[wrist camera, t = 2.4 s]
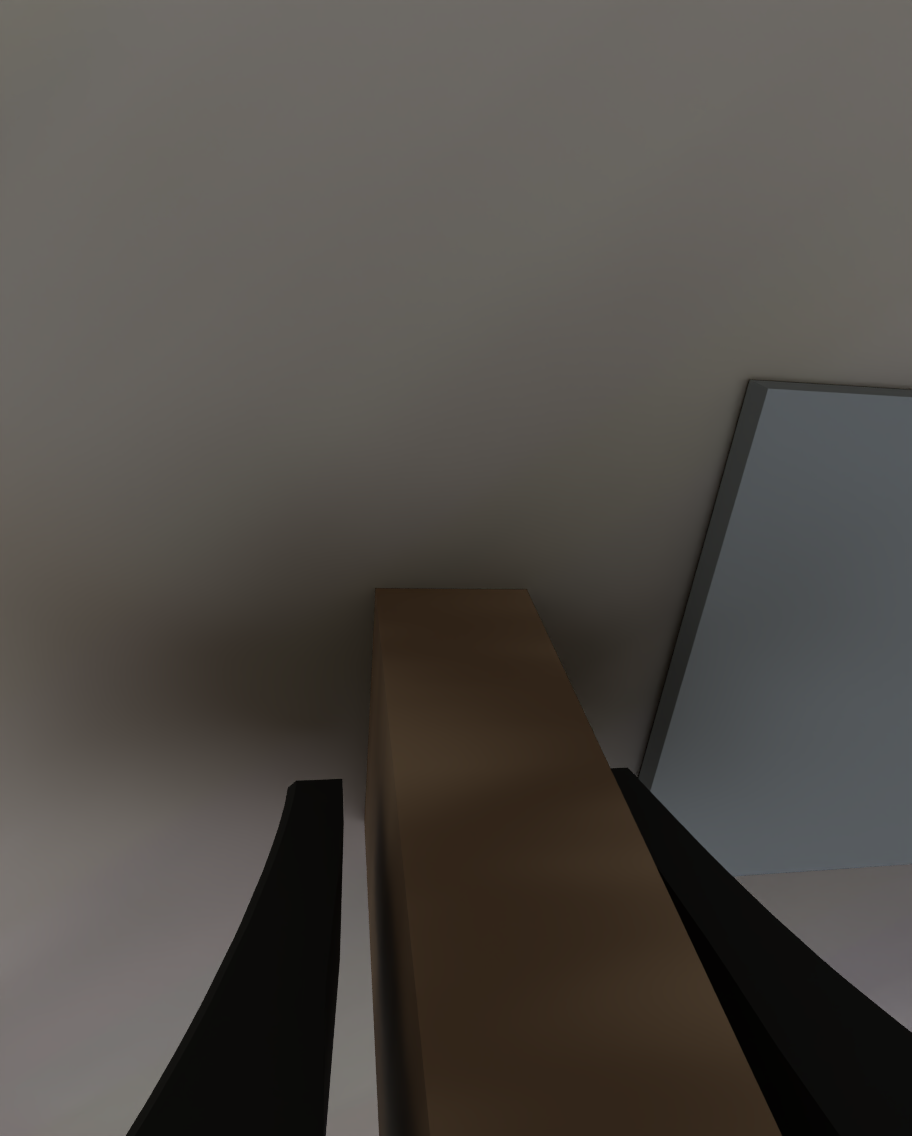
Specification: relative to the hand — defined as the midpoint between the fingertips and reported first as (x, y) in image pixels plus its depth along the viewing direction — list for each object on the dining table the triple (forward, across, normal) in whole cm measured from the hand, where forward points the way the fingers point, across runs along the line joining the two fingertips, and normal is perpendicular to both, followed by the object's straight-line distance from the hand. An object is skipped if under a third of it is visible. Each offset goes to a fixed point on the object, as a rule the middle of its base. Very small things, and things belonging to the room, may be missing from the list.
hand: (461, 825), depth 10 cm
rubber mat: (+2, -9, -1) cm, 9 cm away
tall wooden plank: (+2, 0, 0) cm, 2 cm away
